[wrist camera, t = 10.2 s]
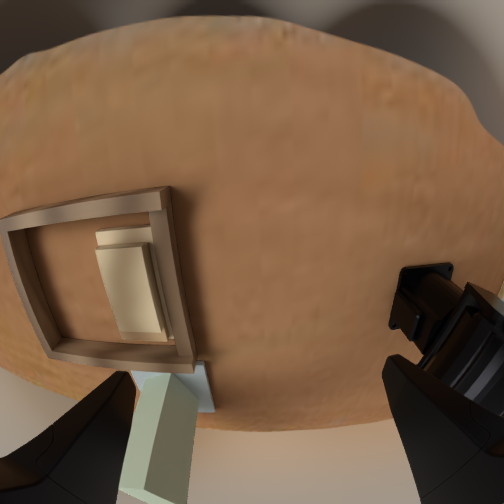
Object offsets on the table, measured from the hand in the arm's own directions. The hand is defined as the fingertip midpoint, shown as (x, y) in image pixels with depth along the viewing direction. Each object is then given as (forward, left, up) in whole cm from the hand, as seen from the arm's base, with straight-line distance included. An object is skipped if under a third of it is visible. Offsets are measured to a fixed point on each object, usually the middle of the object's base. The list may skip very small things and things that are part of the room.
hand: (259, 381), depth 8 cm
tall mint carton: (+9, +15, -12) cm, 22 cm away
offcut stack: (+9, +3, -13) cm, 16 cm away
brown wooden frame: (+14, +3, -13) cm, 19 cm away
